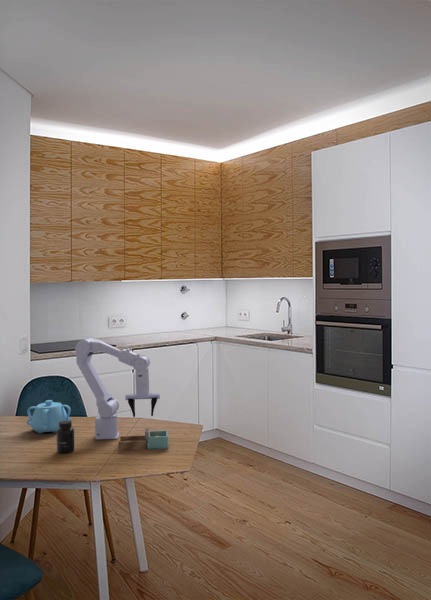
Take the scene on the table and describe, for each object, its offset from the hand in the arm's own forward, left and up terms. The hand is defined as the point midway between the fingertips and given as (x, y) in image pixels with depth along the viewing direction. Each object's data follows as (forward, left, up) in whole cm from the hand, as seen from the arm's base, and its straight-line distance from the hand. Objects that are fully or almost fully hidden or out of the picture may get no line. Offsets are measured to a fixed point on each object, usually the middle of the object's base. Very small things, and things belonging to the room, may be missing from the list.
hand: (143, 415), depth 222 cm
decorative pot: (-44, +17, -10) cm, 48 cm away
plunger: (+2, -12, -7) cm, 14 cm away
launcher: (-3, -12, -9) cm, 15 cm away
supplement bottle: (-30, -14, -10) cm, 34 cm away
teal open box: (+7, -12, -9) cm, 16 cm away
